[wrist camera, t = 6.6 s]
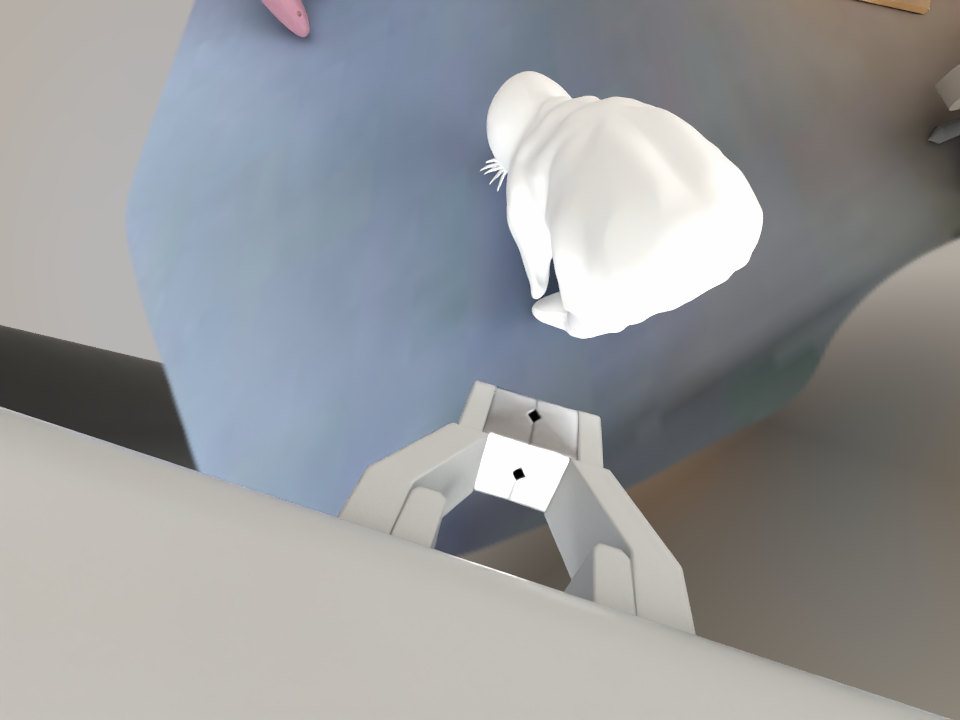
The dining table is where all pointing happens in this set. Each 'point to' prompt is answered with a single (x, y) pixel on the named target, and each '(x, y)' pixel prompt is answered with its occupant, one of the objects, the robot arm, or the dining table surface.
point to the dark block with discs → (948, 105)
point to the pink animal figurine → (290, 15)
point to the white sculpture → (615, 204)
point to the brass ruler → (905, 4)
